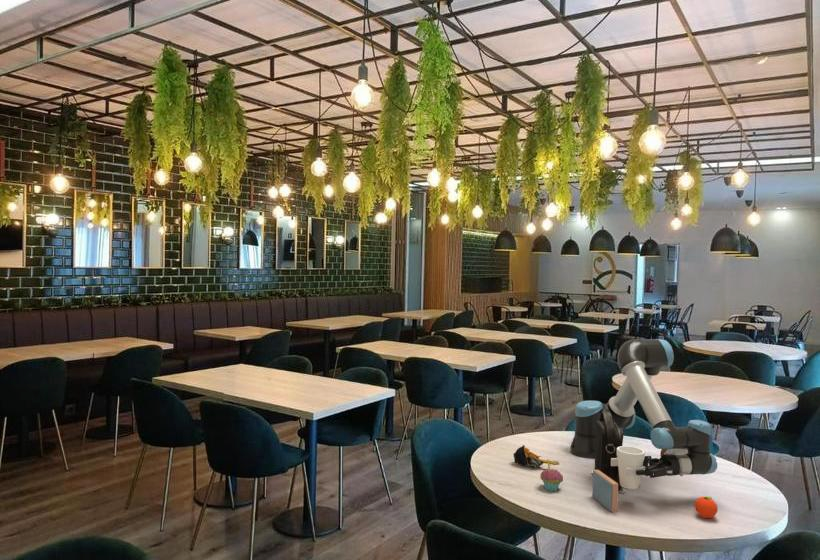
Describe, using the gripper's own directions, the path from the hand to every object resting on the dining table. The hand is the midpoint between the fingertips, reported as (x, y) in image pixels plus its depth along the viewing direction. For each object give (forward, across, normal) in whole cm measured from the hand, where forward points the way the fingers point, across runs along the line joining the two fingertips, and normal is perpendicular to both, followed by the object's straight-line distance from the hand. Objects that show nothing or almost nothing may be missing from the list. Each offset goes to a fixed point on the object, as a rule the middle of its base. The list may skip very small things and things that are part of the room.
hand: (618, 467), depth 206 cm
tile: (+5, 0, -14) cm, 14 cm away
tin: (-50, +35, -14) cm, 62 cm away
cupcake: (+18, +16, -14) cm, 28 cm away
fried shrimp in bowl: (+15, +40, -14) cm, 45 cm away
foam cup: (-4, 0, -7) cm, 8 cm away
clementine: (-25, -14, -14) cm, 32 cm away
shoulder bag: (-7, +20, -14) cm, 26 cm away
